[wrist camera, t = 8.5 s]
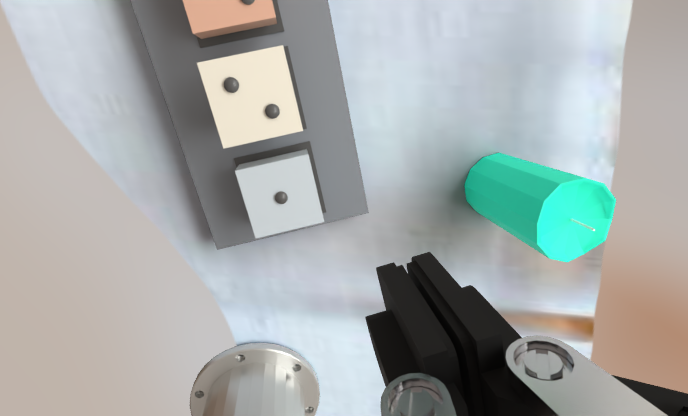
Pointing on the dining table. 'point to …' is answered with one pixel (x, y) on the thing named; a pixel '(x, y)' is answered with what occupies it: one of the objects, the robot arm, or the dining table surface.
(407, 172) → the dining table surface
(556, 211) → the candle
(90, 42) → the dining table surface
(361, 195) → the keypad board
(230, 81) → the key two
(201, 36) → the key three
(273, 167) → the key one
